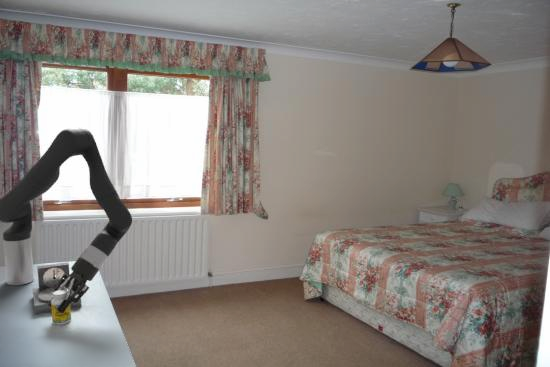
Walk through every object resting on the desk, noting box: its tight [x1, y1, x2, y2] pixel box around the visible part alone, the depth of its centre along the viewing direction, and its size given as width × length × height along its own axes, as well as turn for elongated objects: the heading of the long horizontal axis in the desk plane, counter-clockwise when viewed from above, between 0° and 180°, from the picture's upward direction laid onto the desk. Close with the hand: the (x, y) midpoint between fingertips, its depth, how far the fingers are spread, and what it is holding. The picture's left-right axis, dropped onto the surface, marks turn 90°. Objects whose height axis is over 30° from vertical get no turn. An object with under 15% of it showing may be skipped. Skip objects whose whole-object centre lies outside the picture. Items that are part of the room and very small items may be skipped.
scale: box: [32, 261, 82, 315], centre depth 163 cm, size 17×14×11 cm
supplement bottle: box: [51, 290, 72, 326], centre depth 147 cm, size 5×5×10 cm
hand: (55, 308), depth 146 cm, fingers closed on supplement bottle, 5 cm apart
